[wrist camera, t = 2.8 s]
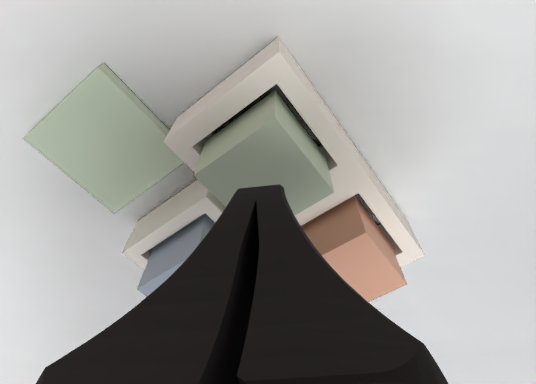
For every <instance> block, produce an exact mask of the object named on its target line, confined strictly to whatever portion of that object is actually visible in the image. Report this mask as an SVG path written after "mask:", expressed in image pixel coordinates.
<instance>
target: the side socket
mask: <svg viewBox="0 0 536 384" xmlns="http://www.w3.org/2000/svg"><path fill="white" fill-rule="evenodd" d="M225 208H226V207H225V206H224V205H223V204H222V203H221V202H220V201H219V200H218V199H217V198H216V197H215V196H214V195H213V194H212V193H211V192H210V191H209V190H208V189H207V188H206V187H205V186H204V185H203V184H202V183H201V182H200V181H199V180H198V179H197V180H196V181H194V182H193V183H191V184H190V185H188V186H187V187H186V188H184V189H183V190H181V191H180V192H178V193H177V194H176V195H174V196H173V197H171V198H170V199H168V200H167V201H166V202H164V203H163V204H161V205H160V206H158V207H157V208H156V209H154V210H153V211H151V212H150V213H149V214H147V215H146V216H144V217H143V218H141V219H140V220H139V221H138V222H137V224H136V226H135V228H134V230H133V232H132V234H131V236H130V238H129V240H128V242H127V244H126V246H125V248H124V250H123V252H122V253H123V254H124V255H125V256H127V257H128V258H129V259H130V260H132V261H133V262H134V263H136V264H137V265H138V266H139V267H141V268H142V269H143V270H145V268H146V265H147V263H148V260H149V258H150V255H151V253H152V250H153V247H155V246H156V245H158V244H159V243H161V242H162V241H164V240H165V239H167V238H169V237H170V236H171V235H172V234H174V233H175V232H177V231H178V230H180V229H181V228H183V227H184V226H186V225H187V224H189V223H191V222H192V221H194V220H195V219H197V218H198V217H200V216H201V215H203V214H204V213H206V214H207V215H208V216H209V217H210V218H211V219H212V220H213V221H214V222H216V221H217V220H218V218H219V217H220V215H221V214H222V212H223V211H224V209H225Z"/></svg>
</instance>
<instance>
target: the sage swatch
mask: <svg viewBox="0 0 536 384" xmlns="http://www.w3.org/2000/svg"><path fill="white" fill-rule="evenodd" d="M168 133H169V129H168V128H167V127H166V126H165V125H164V124H163V123H162V122H161V121H160V120H159V119H158V118H157V117H156V116H155V115H154V114H153V113H152V112H151V111H150V110H149V109H148V108H147V107H146V106H145V105H144V104H143V103H142V102H141V101H140V100H139V99H138V97H137V96H136V95H135V94H134V93H133V92H132V91H131V90H130V89H129V88H128V87H127V86H126V85H125V84H124V83H123V82H122V81H121V80H120V79H119V78H118V77H117V76H116V75H115V74H114V73H113V72H112V71H111V70H110V69H109V68H108V67H107V65H106V64H105V63H103V64H101V65H100V66H98V67H97V68H96V69H95V70H94V71H93V72H92V73H91V74H90V75H89V76H88V77H87V78H86V79H85V80H83V81H82V82H81V83H80V84H79V85H78V86H77V87H76V88H75V89H74V90H73V91H72V92H71V93H70V94H69V95H68V96H67V97H66V98H65V99H64V100H63V101H62V102H60V103H59V104H58V105H57V106H56V107H55V108H54V109H53V110H52V111H51V112H50V113H49V114H48V115H47V116H46V117H45V118H44V119H43V120H42V121H41V122H40V123H39V124H37V125H36V126H35V127H34V128H33V129H32V130H31V131H30V132H29V133H28V134H27V135H26V136H25V137H24V138H23V139H24V140H25V141H26V142H28V143H29V144H30V145H31V146H33V147H34V148H35V149H36V150H37V151H39V152H40V153H41V154H42V155H43V156H45V157H46V158H47V159H48V160H50V161H51V162H52V163H53V164H54V165H56V166H57V167H58V168H59V169H60V170H62V171H63V172H64V173H65V174H66V175H68V176H69V177H70V178H71V179H73V180H74V181H75V182H76V183H77V184H79V185H80V186H81V187H82V188H83V189H85V190H86V191H87V192H88V193H89V194H91V195H92V196H93V197H94V198H96V199H97V200H98V201H99V202H100V203H102V204H103V205H104V206H105V207H106V208H108V209H109V210H110V211H111V212H112V213H116V212H117V211H119V210H120V209H121V208H123V207H124V206H125V205H127V204H128V203H129V202H131V201H132V200H134V199H135V198H136V197H138V196H139V195H140V194H142V193H143V192H144V191H146V190H147V189H149V188H150V187H151V186H153V185H154V184H155V183H157V182H158V181H159V180H161V179H162V178H164V177H165V176H166V175H168V174H169V173H170V172H172V171H173V170H174V169H176V168H177V167H179V166H180V165H181V164H183V163H184V162H183V161H182V160H181V159H180V158H179V157H178V156H177V155H176V154H175V153H174V152H173V151H172V150H171V149H170V148H169V147H168V146H167V145H166V144H165V143H164V140H165V138H166V136H167V135H168Z"/></svg>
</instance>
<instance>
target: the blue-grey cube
mask: <svg viewBox="0 0 536 384" xmlns="http://www.w3.org/2000/svg"><path fill="white" fill-rule="evenodd" d="M214 224H215V222H214V221H213V220H212V219H211V218H210V217H209V216H208V215H207V214H206V213H205V214H204V215H202V216H201V217H199V218H198V219H196V220H195V221H193V222H192V223H190V224H188V225H187V226H185V227H184V228H182V229H181V230H179V231H178V232H176V233H175V234H173V235H172V236H170V237H169V238H167V239H165V240H164V241H162V242H161V243H159V244H158V245H156V246H155V247H153V250H152V253H151V255H150V258H149V260H148V263H147V265H146V268H145V270H144V273H143V275H142V278H141V280H140V283H139V285H138V288H137V290H139V291H140V292H141V293H143V294H144V295H146V296H149V295H150V294H151V293H152V292H153V291H154V290H155V289H157V288H158V287H159V286H160V285H161V284H162V283H164V282H165V281H166V280H167V279H168V278H169V277H170V276H171V275H172V274H173V273H174V272H175V271H176V270H177V269H178V268H179V267H180V266H181V265H182V264H183V262H184V261H185V260H186V259H187V258H188V257H189V256H190V255H191V253H192V252H193V251H194V250H195V249H196V247H197V246H198V245H199V244H200V242H201V241H202V240H203V239H204V237H205V236H206V235H207V234H208V232H209V231H210V229H211V228H212V227H213V225H214Z"/></svg>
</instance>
